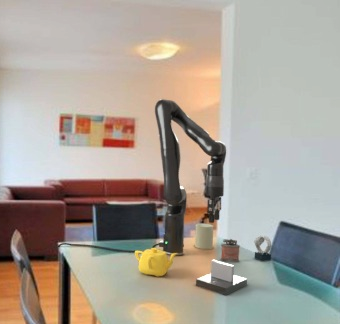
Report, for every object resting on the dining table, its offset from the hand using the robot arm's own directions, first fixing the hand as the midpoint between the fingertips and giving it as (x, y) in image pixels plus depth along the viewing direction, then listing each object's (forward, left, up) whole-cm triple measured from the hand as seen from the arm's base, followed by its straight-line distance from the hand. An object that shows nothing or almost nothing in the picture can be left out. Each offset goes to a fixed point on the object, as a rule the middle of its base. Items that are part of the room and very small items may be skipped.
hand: (214, 221), depth 174 cm
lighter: (+7, +7, -19) cm, 22 cm away
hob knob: (+6, -29, -16) cm, 34 cm away
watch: (+21, +17, -19) cm, 33 cm away
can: (-7, +27, -19) cm, 34 cm away
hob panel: (+6, -29, -19) cm, 35 cm away
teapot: (-20, -27, -19) cm, 39 cm away
